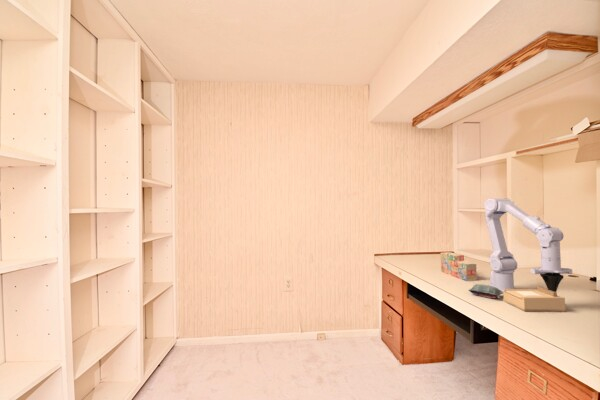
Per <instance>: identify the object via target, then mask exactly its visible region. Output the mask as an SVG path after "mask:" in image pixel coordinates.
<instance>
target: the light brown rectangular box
mask: <svg viewBox="0 0 600 400" xmlns="http://www.w3.org/2000/svg"><path fill="white" fill-rule="evenodd" d="M506 290H537V288H514V289H503V294H502V295H503V302H504V303H506V304H508V305H510V306H512V307H514V308H515V309H518V310H519V311H522V312H525V313H526V312H527V313H528V312H529V313H531V312H532V313H534V312H535V313H542V312H543V313H545V312H547V313H550V312H552V313H553V312H554V313H555V312H557V313H559V312H560V313H562V312H563V313H565V312H566V298H565V297H564V296H560V297H522V299H521V298H519V297H517V296H514V295H512V294H510V293H507V292H506Z"/></svg>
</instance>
